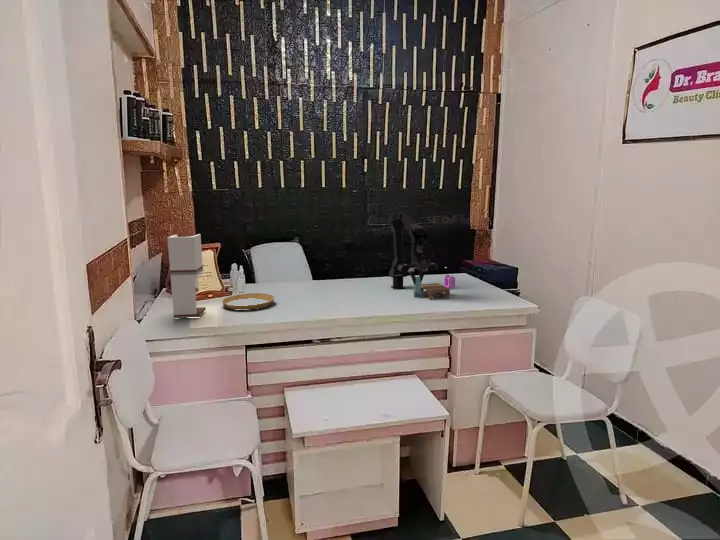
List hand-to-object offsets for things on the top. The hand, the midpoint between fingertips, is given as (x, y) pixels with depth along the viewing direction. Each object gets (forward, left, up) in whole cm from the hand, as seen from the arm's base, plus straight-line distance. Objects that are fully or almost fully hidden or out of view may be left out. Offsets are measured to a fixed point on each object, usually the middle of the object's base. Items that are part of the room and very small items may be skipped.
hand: (417, 284), depth 241 cm
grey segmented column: (+6, -107, -7) cm, 107 cm away
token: (0, +15, -7) cm, 16 cm away
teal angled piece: (0, +6, -7) cm, 9 cm away
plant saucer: (-6, -82, -7) cm, 82 cm away
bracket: (-14, +19, -7) cm, 25 cm away
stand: (0, +9, -7) cm, 11 cm away
